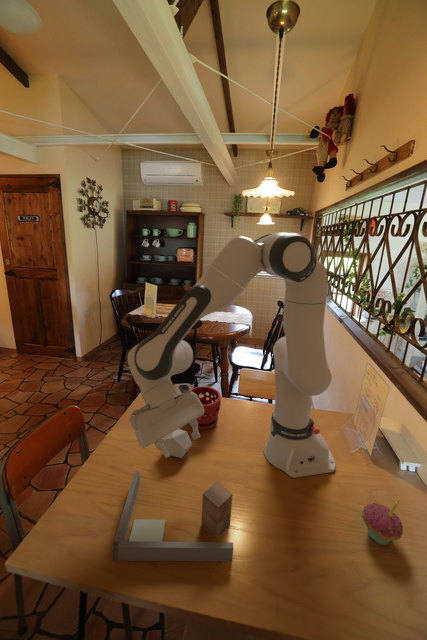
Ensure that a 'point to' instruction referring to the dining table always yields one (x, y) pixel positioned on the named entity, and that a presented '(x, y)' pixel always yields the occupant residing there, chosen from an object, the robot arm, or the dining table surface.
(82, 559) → the dining table surface
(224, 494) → the walnut block
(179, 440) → the die
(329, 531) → the dining table surface
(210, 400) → the plant pot
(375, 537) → the cupcake
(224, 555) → the grey l-shaped bracket
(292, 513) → the dining table surface
